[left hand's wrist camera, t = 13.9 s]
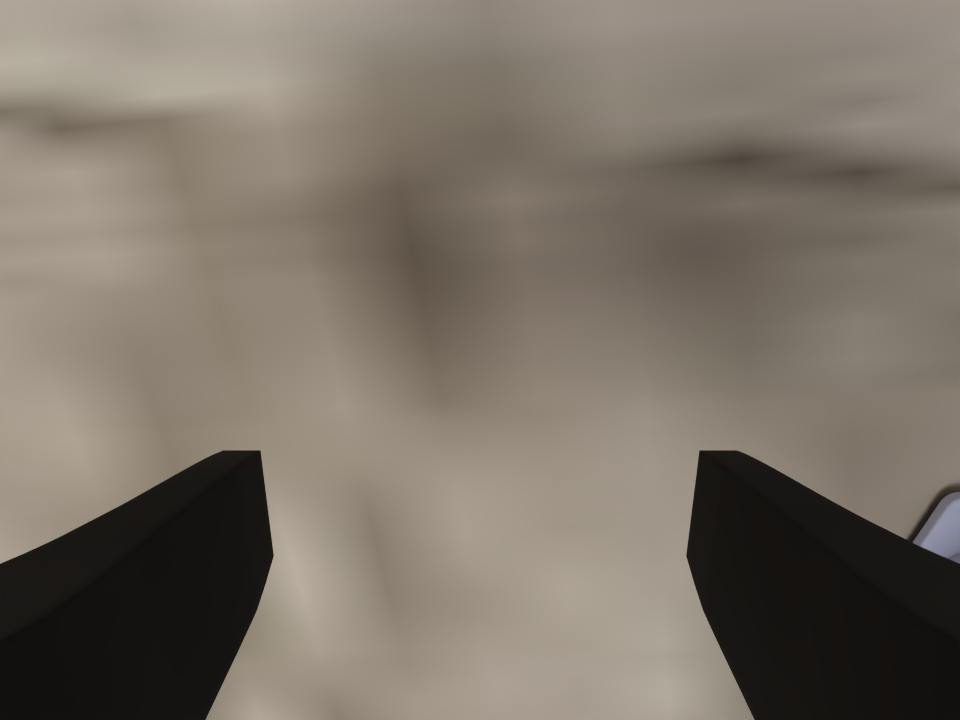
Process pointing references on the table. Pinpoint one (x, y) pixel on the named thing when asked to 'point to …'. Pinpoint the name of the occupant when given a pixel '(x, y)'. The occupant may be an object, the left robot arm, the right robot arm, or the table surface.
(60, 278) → the table surface
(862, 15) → the table surface
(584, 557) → the table surface
